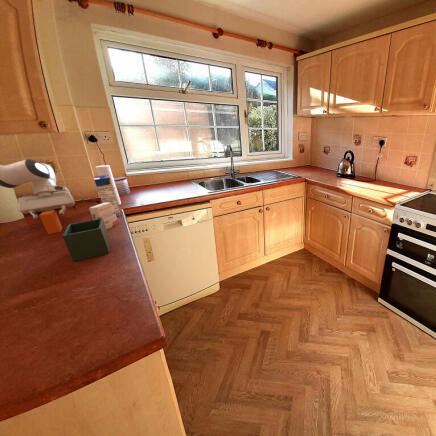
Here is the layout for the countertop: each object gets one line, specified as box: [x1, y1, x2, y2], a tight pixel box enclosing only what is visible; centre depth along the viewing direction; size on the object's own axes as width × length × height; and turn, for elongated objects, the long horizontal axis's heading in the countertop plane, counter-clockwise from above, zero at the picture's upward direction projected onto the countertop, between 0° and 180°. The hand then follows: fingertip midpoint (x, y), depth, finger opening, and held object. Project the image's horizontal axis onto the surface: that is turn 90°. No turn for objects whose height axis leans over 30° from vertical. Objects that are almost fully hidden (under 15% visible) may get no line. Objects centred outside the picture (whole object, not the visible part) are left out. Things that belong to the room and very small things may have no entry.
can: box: [114, 176, 131, 197], centre depth 181 cm, size 11×11×12 cm
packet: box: [39, 209, 63, 235], centre depth 119 cm, size 4×6×10 cm
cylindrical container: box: [95, 164, 122, 206], centre depth 154 cm, size 7×7×25 cm
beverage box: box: [93, 175, 123, 218], centre depth 137 cm, size 7×11×22 cm, turn 39°
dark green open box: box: [62, 218, 112, 263], centre depth 99 cm, size 11×13×11 cm
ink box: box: [88, 202, 120, 230], centre depth 122 cm, size 9×5×12 cm, turn 168°
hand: (49, 216), depth 118 cm, fingers open, 8 cm apart
